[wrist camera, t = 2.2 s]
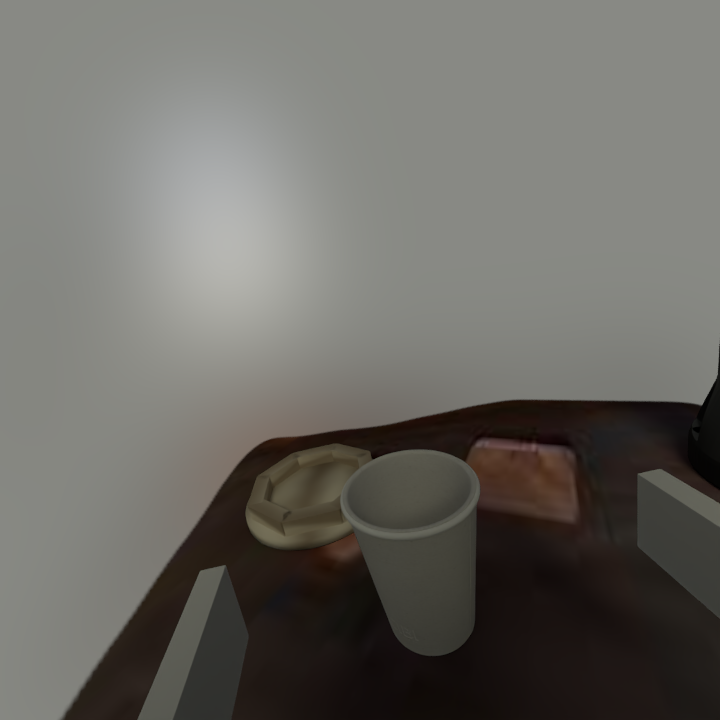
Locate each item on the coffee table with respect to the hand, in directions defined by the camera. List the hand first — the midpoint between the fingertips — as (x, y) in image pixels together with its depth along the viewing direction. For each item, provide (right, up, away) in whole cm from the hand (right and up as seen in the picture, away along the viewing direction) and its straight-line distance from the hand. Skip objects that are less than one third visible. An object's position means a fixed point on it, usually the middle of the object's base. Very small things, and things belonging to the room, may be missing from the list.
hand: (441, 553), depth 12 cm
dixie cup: (+2, -11, +13) cm, 17 cm away
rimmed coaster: (-7, -9, +28) cm, 31 cm away
